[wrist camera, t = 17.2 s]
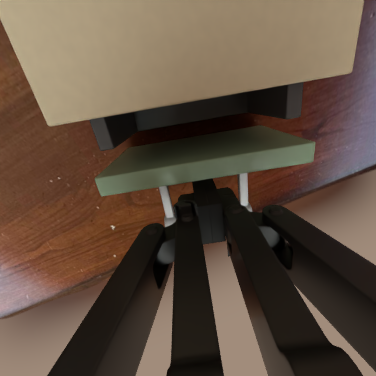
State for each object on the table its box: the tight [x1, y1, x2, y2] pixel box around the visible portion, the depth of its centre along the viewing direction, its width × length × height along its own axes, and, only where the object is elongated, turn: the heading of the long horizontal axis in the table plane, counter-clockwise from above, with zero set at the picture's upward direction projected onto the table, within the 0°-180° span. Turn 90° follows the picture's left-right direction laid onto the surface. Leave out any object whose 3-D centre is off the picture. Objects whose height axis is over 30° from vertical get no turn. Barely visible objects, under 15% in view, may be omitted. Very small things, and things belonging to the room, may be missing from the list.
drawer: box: [90, 82, 315, 227], centre depth 13 cm, size 20×13×8 cm, turn 9°
